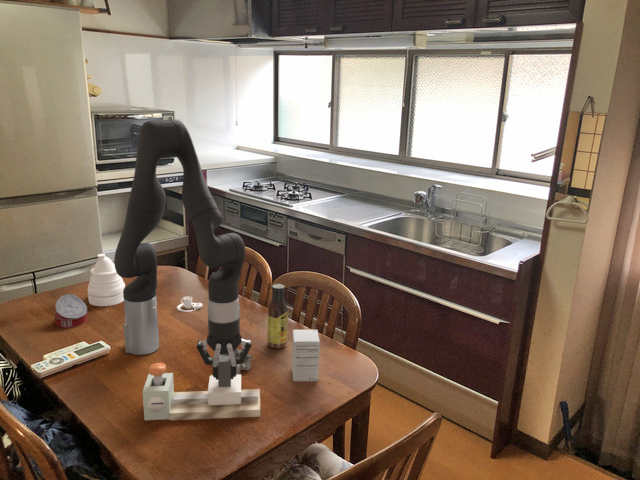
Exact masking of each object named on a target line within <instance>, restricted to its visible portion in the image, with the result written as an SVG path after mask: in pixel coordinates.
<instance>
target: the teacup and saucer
mask: <svg viewBox="0 0 640 480" xmlns="http://www.w3.org/2000/svg"><path fill="white" fill-rule="evenodd" d="M180 302H181V303H180V304H179V305H177V306H176V310H177V311H180V312H185V313H187V312H188V313H189V312H194V311H197V310H199V309H201V308H202V307H203V303H202V302H193V297H192V296H190V295H189V296H184V297H182V298H180ZM193 304H194V305H193ZM182 306H184V308H185V309H189V310H185V309H182V308H181V307H182ZM191 308H192V309H191ZM193 309H194V310H193Z"/></svg>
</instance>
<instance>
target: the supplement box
mask: <svg viewBox="0 0 640 480" xmlns="http://www.w3.org/2000/svg"><path fill="white" fill-rule="evenodd" d="M320 348H321V341H320V336H319V331H318V329H293V330H292V347H291V349H292V351H291V352H292V354H291V370H292V381H293V382H319V375H320V374H319V373H320V371H319V370H320V369H319V368H320V352H321V351H320Z"/></svg>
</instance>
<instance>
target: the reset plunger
mask: <svg viewBox="0 0 640 480" xmlns="http://www.w3.org/2000/svg"><path fill="white" fill-rule="evenodd" d="M164 373H167V366H166V364H165V363H164V362H154V363H151V364H150V366H148V374H150V375H153V376H154V386H163V381H162V374H164Z"/></svg>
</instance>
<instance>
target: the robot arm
mask: <svg viewBox="0 0 640 480" xmlns="http://www.w3.org/2000/svg"><path fill="white" fill-rule="evenodd" d="M137 138H138V139H137V148H136V158H135V166H134V167H135V169H134V173H133V174H134V175H133V180H132V185H131V189H130V193H129V198H128V202H127V206H126V215H125V218H124V223H123V226H122V227H123V228H122V232H121V235H120V238H119V239H118V243H117V246H116V248H115V249H116V250H115V254H114V259H113V260H114V261H113V263H114V265H115V269H116V272H117V274H118V275H119V276H120V277H121V278H122V279H131V278H135V277H136V278H135V279H133V280H132V281H131V282H130V283H128V284H127V285H125V288H124V290H123V297H124V301H123V306H124V307H123V308H124V323H123V333H124V347H125V353H126V354H131V355H133V356H134V355H135V356H144V355H150V354H152V353H154V352H156V351H157V350H159V348H160V339H159V337H160V336H159V335H160V334H159V323H158V322H159V321H158V304H157V289H158V257H157V253H156V249H155V247H154V246H153V245H152V244H151V243H150V242H143V241H144V240H145V239H146V238H147V237H148V236H149V235H150V234H151V233H152V232H153V231H154V230H155V229H156V227H157V226H159V224H160V222H161V220H162V218H163V217H164V216H163V215H164V213H165V207H166V204H167V194H166V192H165V190H164V188H163V185H162V183H161V182H160V180H159V178H158V176H157V175H156V174H157V167H158V162H159V161H161V160H162V159H163V160H164V159H172V158H174V159H175V158H176V159H177V160H178V162H179V163H180V165H181V167H182V169H183V170H182V171H183V181H182V187H181V188H182V189H181V200H182V204H183V207H184V209H185V212H186V214H187V216H188V218H189V220H190V222H191V223H192V226H193V230H194V233H195V237H196V244H197V249H198V254H199V257H200V259H201V261H202V263H204V264H205V265H206V267H209V268H212V269H217V268H219V269H218V270H217V271H215V272H214V273H212V274H211V275H210V276H209V277H208V280H207V282H208V283H207V288H208V290H207V291H208V301H207V328H208V329H207V330H208V331H207V332H208V334H207V336H206V339H204V340H200V339H199V340H198V341H197V342H196V349H197V351H198V354H199V355H200V357H201V358H202V360H203V362H204V365H206V366H211V367H212V375H213V377H214V378H216V380H218V360H219V355H220V354H229V358H230V361H231V379H233V378H234V377H236V375H237V374H236V366H237V365H240V364H243V363H244V360H245V358H246V356H247V354H249V352H250V350H251V347H252V340H251V338H248V339H245V338H243V336H242V335H241V331H240V330H241V324H240V322H241V320H240V317H241V315H240V314H241V310H240V309H241V308H240V306H241V305H240V302H239V280H240V277H241V274H242V269H243V265H244V263H245V262H244V261H245V258H246V245H245V242H244V239H243V238H242V237H241V236H240V235H239V234H238V233H236V232H229V233H223V234H219V235H215V234H214V230H216V229H217V228H219V227H220V226H221V225H222V223H223V220H224V219H223V215H222V212H221V210H220V209H219V206H218V205H217V203H216V201H215V199H214V196H213V195H212V193H211V191H210V189H209V187H208V184H207V182H206V179H205V177H204V176H205V175H204V173H203V169H202V167H201V164H200V160H199V157H198V154H197V152H196V148H195V145H194V143H193V139H192V137H191V135H190V132H189V130H188V128H187V126H186V125H185V124H184V122H183V121H181V120H180V119H173V118H172V119H168V118H167V119H154V120H153V119H152V120H147V121H145V122H143V123H142V125H141V127H140V129H139V133H138V137H137ZM208 346H209V347H210V349H211V350H212V351H213V352H214V353H213V357H211V356H210V353H209V352H208V350H207V348H208ZM239 346H241V348H242V349H241V353H240V355H239V357H237V356H236V354H235V350H236V349H237V348H238V347H239Z"/></svg>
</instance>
